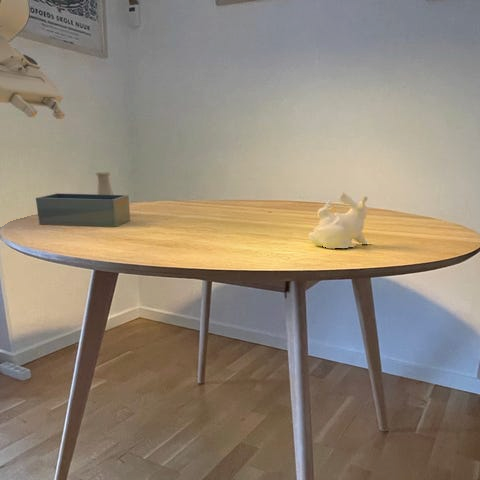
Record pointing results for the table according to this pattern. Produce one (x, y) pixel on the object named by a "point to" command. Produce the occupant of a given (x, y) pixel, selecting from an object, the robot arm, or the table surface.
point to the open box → (83, 209)
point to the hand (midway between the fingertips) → (48, 116)
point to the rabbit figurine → (340, 225)
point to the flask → (103, 183)
